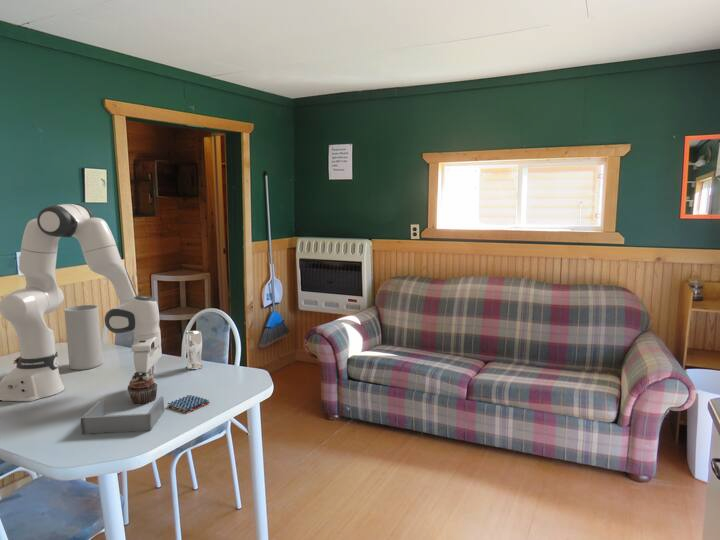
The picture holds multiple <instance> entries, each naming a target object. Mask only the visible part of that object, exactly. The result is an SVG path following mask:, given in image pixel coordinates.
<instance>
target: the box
mask: <svg viewBox="0 0 720 540" xmlns="http://www.w3.org/2000/svg"><path fill="white" fill-rule="evenodd" d="M164 398H165V397H164V396H160V397H158V399H157V400H156V402H155V403H154V404H153V405H152V406H151V408H150V409H149V410H148V412H147V413H134V414H117V415H116V414H114V415H111V414H110V415H105V401H104V399H102V398H101V399H99V400H98V401H97V402H96V403H95V404H94V405H93V406H92V407H91V408H89V410H88V411H86V413H84V414H83V415H82V416H81V417H80V427H81V429H80V430H81V435H91V433H95V434H105V433H104V432H114V433H130V432H129V431H134V432H149V431H152V430H153V428H154V426H156V424H157V422H159V420H160V418H161V417H162V415H163V414H164V413H165V403H164V402H165V400H164ZM158 419H159V420H158Z"/></svg>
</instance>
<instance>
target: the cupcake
mask: <svg viewBox="0 0 720 540" xmlns="http://www.w3.org/2000/svg"><path fill="white" fill-rule="evenodd" d="M157 391H158V384H157V383H156V382H155V379H154V378H153V377H150V375H148V374H147V373H137V372H136V371H135V372H134V373H133V374H132V377H131V378H130V381H129V383H128V385H127V392H128V395H129V397H130V400H131V403H132V404H133V405H138V404H140V405H147V404H150V403H152V401H153V402H154V401H155V400H156V399H157ZM149 402H150V403H149ZM146 403H147V404H146Z"/></svg>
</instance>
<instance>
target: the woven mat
mask: <svg viewBox="0 0 720 540" xmlns="http://www.w3.org/2000/svg"><path fill="white" fill-rule="evenodd" d="M210 404H211V402H210V400H209V399H207V398H204V397H199V396H197V395H192V394H190V395H188V394H187V395H186V396H182V397H180V398H178V399H175V400H174V401H173V400H172V401H171V402H168V403H167V408H168V409H171V408H172V409H171V410H175V411H177V412H178V411H179V412H181V411H182V412H181V413H183V414H184V413H186V414H189V413H191V412H193V411H196V410H199V409H200V408H202V407H205V406H207V405H210ZM169 407H170V408H169ZM175 408H176V409H177V410H176V409H175Z"/></svg>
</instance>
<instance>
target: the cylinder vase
mask: <svg viewBox="0 0 720 540" xmlns="http://www.w3.org/2000/svg"><path fill="white" fill-rule="evenodd" d="M64 321H65V323H64V324H65V332H66V333H65V334H66V343H67V344H66V345H67V353H68V354H67V355H68V365H69V368H70V369H71V370H74V371H75V370H76V371H81V370H82V371H83V370H90V369H95V368H97V367H99V366H101V365H102V364H103V352H102V341H101V339H102V338H101V329H100V328H101V327H100V326H101V325H100V315H99V305H96V304H84V305H83V304H81V305H74V306H70V307H67V308H64Z"/></svg>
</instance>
